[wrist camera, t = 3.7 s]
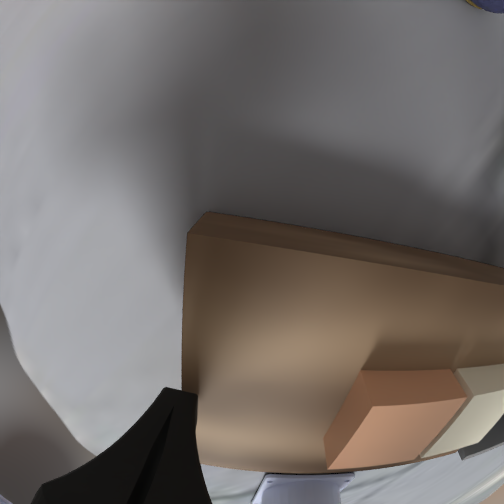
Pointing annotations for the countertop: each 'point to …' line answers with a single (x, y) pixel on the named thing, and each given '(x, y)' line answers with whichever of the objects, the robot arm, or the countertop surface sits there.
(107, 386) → the countertop surface
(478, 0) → the rubber mallet
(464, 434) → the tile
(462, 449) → the bin
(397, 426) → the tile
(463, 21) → the countertop surface
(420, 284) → the wooden serving tray
